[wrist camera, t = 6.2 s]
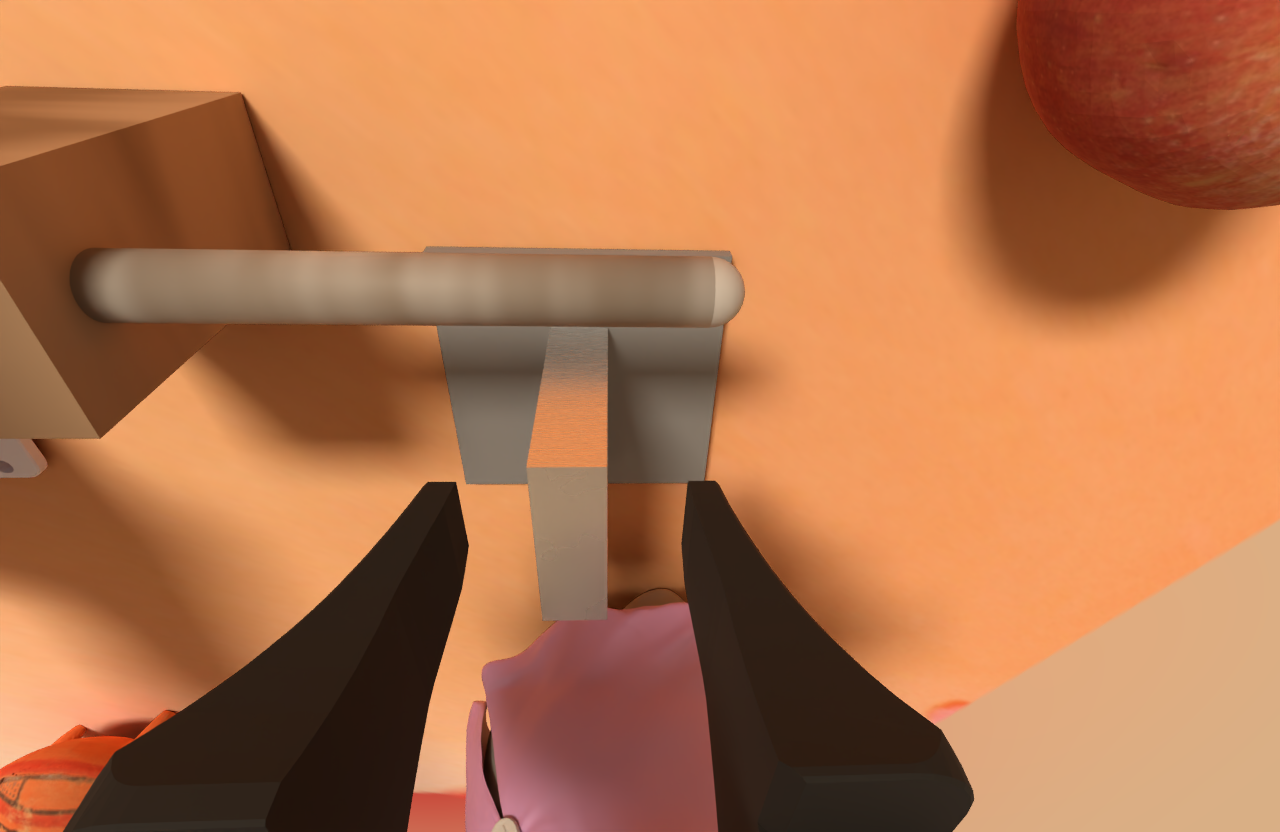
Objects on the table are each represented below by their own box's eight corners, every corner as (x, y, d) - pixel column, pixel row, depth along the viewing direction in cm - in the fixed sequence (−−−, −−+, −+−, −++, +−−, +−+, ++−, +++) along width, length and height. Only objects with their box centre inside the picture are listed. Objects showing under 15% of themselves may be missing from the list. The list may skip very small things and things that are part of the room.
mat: (468, 476, 20) (466, 484, 20) (426, 246, 16) (422, 252, 15) (702, 475, 21) (703, 483, 21) (729, 250, 16) (732, 256, 16)
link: (558, 463, 20) (542, 620, 15) (550, 326, 17) (526, 467, 12) (608, 463, 20) (607, 619, 15) (607, 326, 17) (607, 467, 12)
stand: (96, 260, 16) (-229, 439, 10) (6, 85, 13) (-501, 176, 7) (694, 268, 16) (744, 438, 10) (708, 105, 14) (783, 200, 8)
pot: (271, 760, 31) (170, 929, 26) (161, 745, 33) (48, 898, 28) (159, 683, 26) (8, 873, 21) (39, 672, 28) (-123, 841, 23)
